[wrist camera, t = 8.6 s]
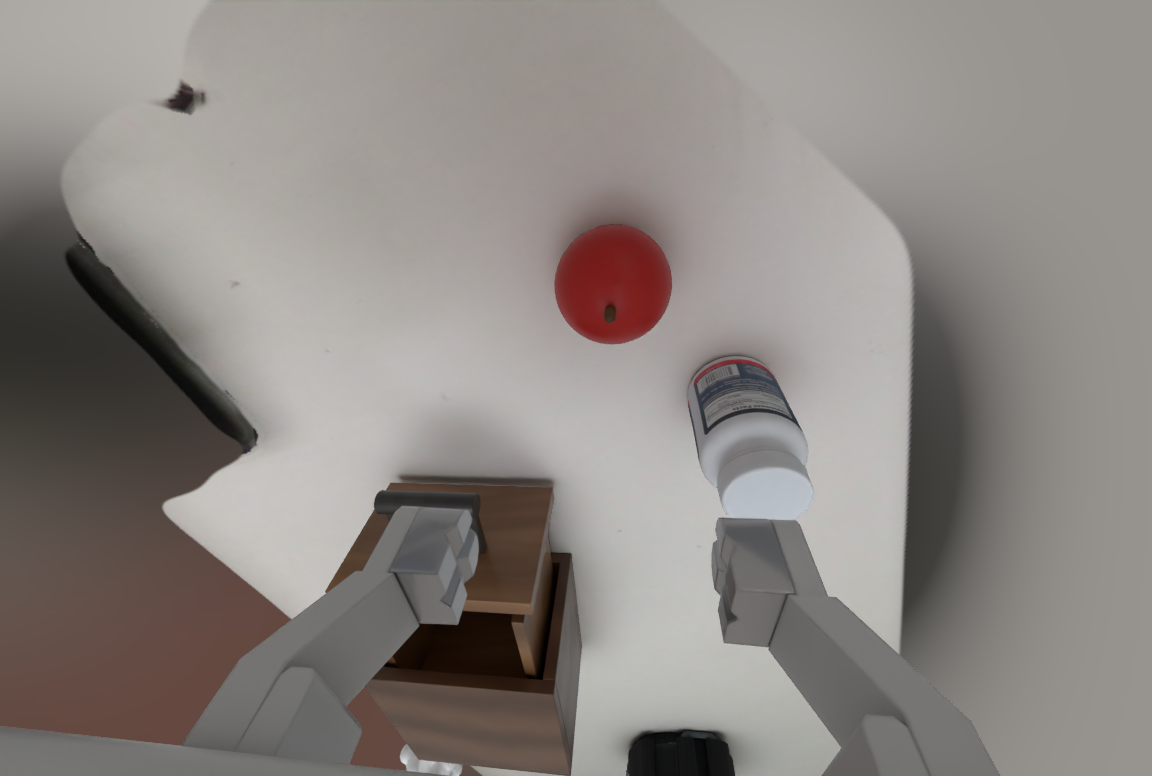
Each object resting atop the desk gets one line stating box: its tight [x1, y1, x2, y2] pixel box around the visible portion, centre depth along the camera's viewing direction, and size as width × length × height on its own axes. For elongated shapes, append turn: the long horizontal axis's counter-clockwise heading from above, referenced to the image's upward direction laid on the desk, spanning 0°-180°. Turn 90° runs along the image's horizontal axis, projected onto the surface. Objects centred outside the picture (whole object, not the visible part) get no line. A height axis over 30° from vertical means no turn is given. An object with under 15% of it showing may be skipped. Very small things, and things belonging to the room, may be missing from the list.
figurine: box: [400, 745, 462, 776], centre depth 49 cm, size 7×7×12 cm
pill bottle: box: [687, 356, 814, 520], centre depth 24 cm, size 5×5×9 cm
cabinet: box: [365, 553, 582, 776], centre depth 39 cm, size 16×14×11 cm
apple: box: [555, 224, 672, 344], centre depth 21 cm, size 6×6×6 cm
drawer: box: [325, 483, 556, 680], centre depth 32 cm, size 20×13×9 cm, turn 4°
